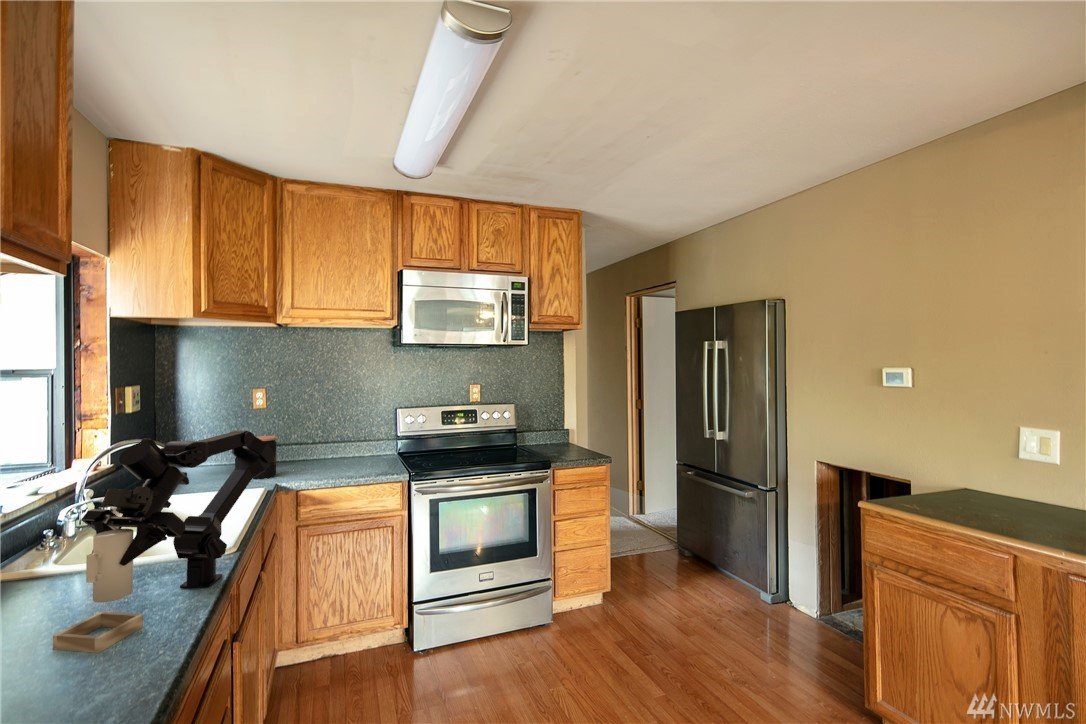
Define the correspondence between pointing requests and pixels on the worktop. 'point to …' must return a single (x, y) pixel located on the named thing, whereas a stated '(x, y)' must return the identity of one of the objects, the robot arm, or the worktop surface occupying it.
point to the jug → (110, 566)
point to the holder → (76, 634)
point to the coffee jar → (272, 467)
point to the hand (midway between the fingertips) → (106, 564)
